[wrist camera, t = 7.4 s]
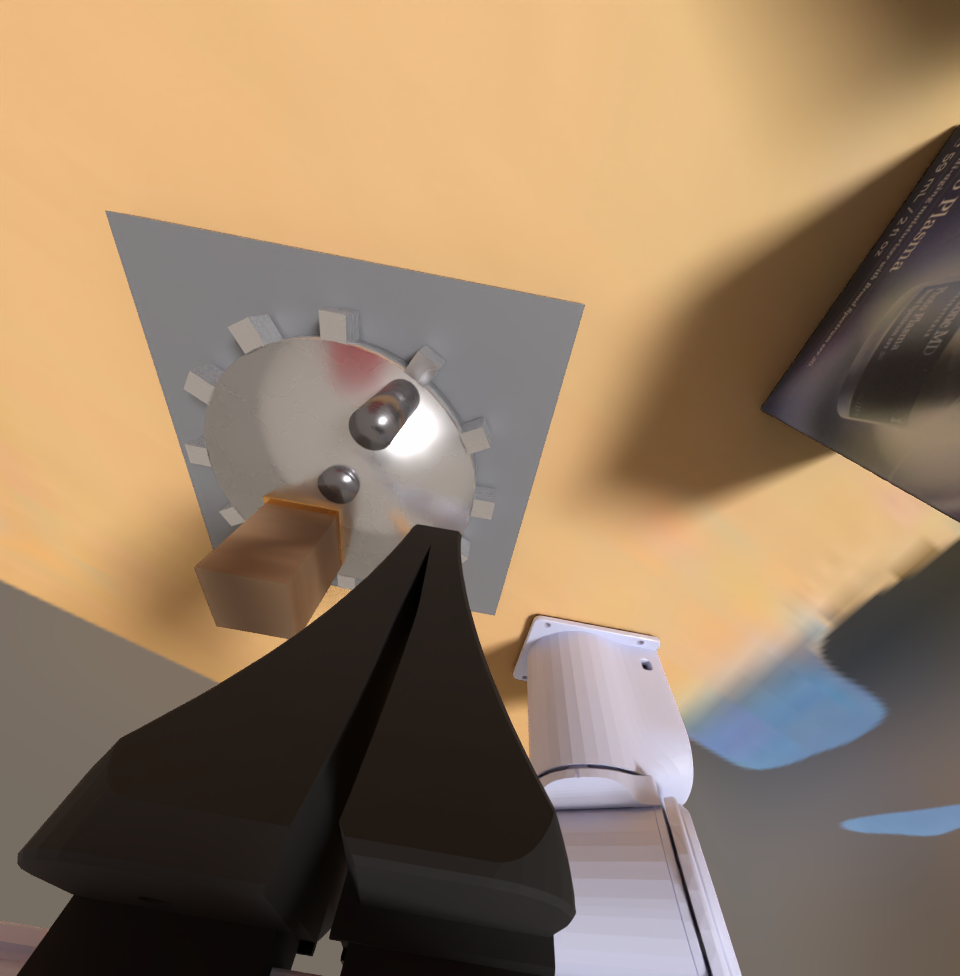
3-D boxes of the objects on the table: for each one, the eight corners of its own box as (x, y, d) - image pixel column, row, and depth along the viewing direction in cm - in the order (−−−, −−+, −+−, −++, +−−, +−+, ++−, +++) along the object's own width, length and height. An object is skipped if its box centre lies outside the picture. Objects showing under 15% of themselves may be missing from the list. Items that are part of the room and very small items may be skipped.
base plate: (581, 303, 15) (613, 316, 10) (495, 604, 26) (490, 685, 21) (128, 214, 15) (-71, 182, 10) (227, 554, 26) (155, 623, 20)
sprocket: (529, 345, 15) (534, 374, 11) (472, 594, 24) (462, 669, 19) (161, 273, 15) (10, 272, 11) (236, 550, 24) (170, 615, 19)
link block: (336, 516, 19) (286, 584, 15) (340, 567, 21) (297, 640, 17) (265, 503, 19) (193, 567, 15) (276, 556, 21) (216, 626, 17)
